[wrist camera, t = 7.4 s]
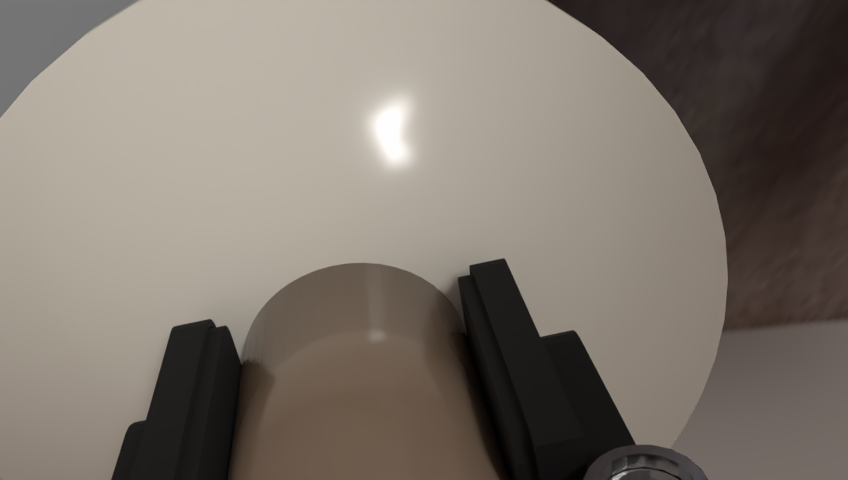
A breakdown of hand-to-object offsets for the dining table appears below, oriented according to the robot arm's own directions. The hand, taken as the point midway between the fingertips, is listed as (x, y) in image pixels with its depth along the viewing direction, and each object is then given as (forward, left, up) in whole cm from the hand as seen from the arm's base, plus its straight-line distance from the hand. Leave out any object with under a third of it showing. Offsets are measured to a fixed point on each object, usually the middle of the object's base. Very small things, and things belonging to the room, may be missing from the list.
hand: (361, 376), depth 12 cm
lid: (0, 0, -2) cm, 2 cm away
